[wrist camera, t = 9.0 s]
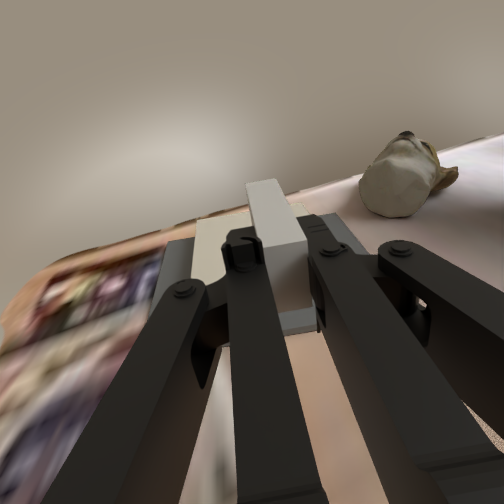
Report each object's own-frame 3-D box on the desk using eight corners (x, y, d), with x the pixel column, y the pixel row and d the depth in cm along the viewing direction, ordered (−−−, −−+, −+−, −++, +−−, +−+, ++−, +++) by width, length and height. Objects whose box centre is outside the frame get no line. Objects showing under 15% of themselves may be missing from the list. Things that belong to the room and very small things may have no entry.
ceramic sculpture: (336, 142, 36) (380, 121, 47) (335, 219, 40) (376, 183, 51) (450, 144, 30) (472, 119, 41) (436, 234, 34) (459, 190, 45)
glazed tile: (343, 289, 28) (303, 220, 40) (342, 265, 26) (301, 202, 39) (195, 315, 27) (201, 238, 40) (189, 292, 26) (197, 220, 38)
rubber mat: (335, 217, 41) (335, 212, 40) (412, 313, 25) (412, 307, 25) (169, 246, 40) (168, 241, 40) (140, 361, 25) (138, 355, 24)
